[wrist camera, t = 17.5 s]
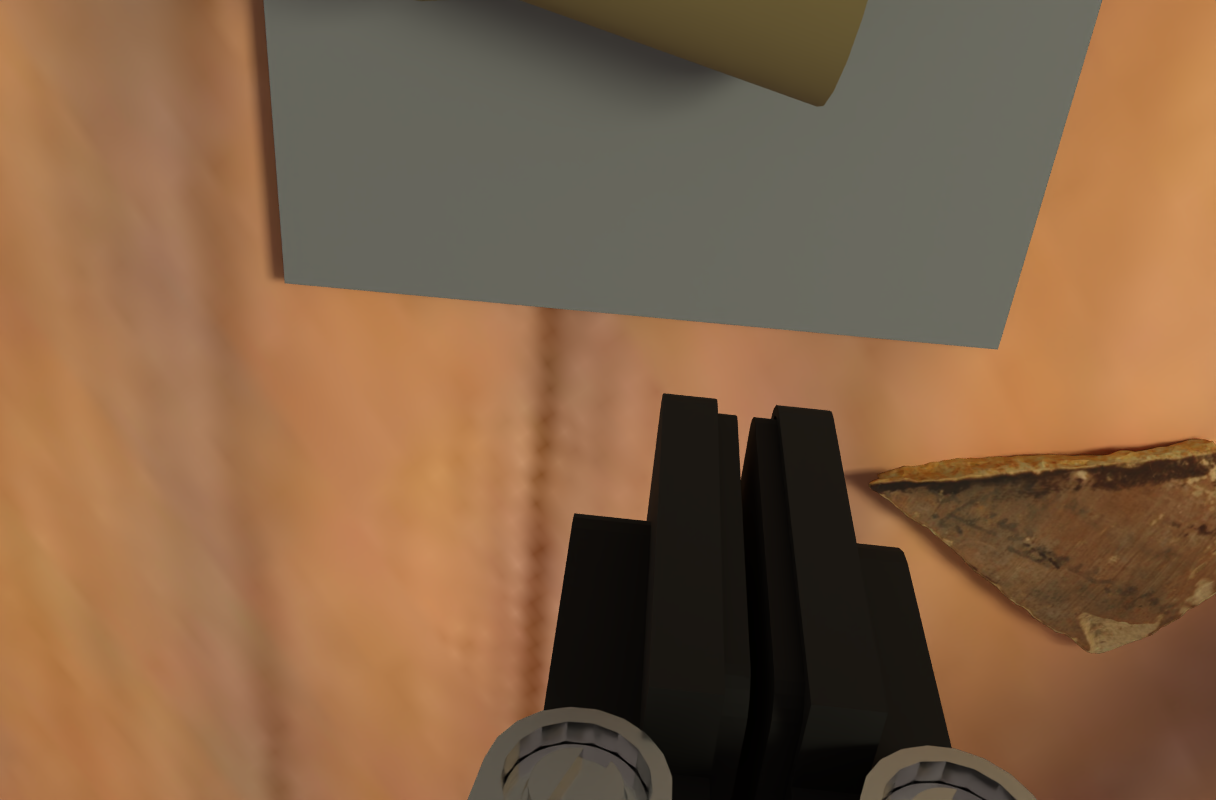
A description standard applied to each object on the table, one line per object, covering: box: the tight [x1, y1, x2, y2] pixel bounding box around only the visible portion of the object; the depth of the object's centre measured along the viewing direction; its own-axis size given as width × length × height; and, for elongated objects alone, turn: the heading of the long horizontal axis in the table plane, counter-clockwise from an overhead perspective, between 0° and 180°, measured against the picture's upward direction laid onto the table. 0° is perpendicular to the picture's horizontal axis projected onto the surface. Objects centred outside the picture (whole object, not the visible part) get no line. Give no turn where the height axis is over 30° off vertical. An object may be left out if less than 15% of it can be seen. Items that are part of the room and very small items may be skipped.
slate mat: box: [264, 0, 1102, 349], centre depth 28 cm, size 20×16×1 cm
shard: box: [869, 439, 1216, 653], centre depth 35 cm, size 11×8×2 cm
